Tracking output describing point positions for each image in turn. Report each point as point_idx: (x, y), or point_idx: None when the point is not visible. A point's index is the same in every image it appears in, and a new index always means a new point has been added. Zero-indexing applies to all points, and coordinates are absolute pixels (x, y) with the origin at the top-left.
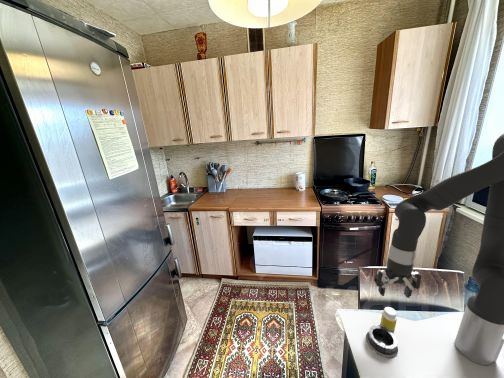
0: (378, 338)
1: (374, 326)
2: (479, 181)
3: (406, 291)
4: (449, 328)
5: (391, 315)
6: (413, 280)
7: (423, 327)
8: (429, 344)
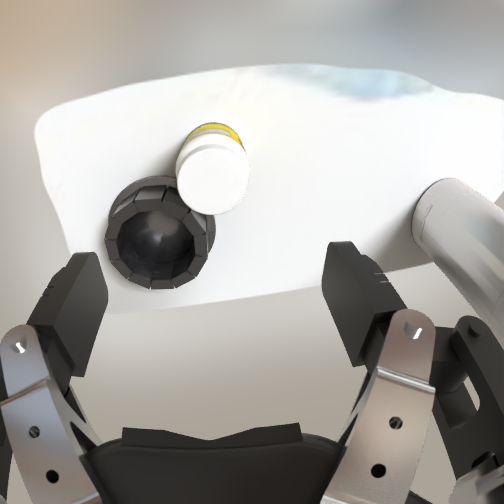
0: (153, 215)
1: (132, 205)
2: None
3: (342, 304)
4: (450, 141)
5: (205, 212)
6: (479, 385)
7: (374, 135)
8: (343, 205)
